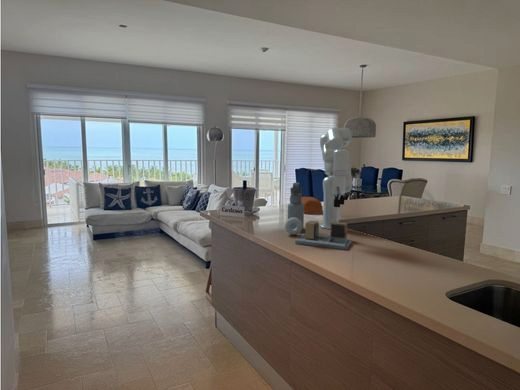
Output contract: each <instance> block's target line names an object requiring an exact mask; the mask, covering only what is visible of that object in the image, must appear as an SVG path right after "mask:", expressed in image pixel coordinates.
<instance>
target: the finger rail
mask: <svg viewBox="0 0 520 390" xmlns="http://www.w3.org/2000/svg"><path fill="white" fill-rule="evenodd" d="M294 241H295V243H294V244H295V245H303V246H311V247H312V246H313V247H321V248H329V249H334V250H335V249H336V250H344V251H347V250H348V249H349V248H350V246H351V245H352V240H350V238H348V237H347V238H338V237H330V236H327V235H320V223H319V220H309V221H307V222H305V233H302V234H301V236H299V237H296V238H295V240H294Z"/></svg>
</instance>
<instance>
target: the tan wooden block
mask: <svg viewBox="0 0 520 390" xmlns="http://www.w3.org/2000/svg"><path fill="white" fill-rule="evenodd" d="M348 223H349V222H341V221H339V222H331V229H330V236H329V237H338V238H347V239H348Z"/></svg>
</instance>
